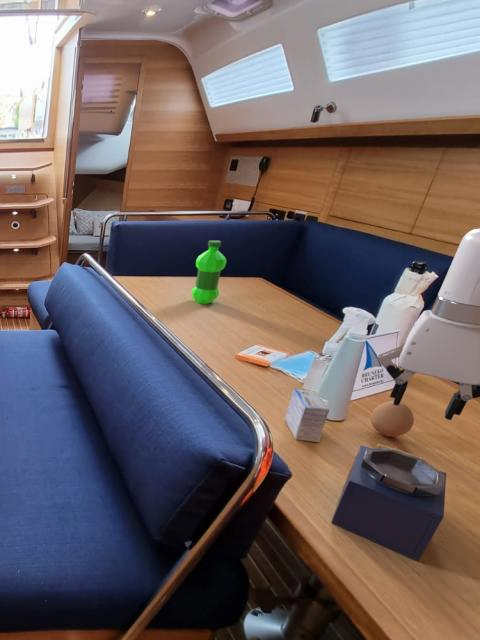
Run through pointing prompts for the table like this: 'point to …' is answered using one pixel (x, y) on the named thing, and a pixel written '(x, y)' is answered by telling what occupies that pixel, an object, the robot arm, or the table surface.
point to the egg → (392, 419)
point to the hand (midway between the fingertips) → (421, 408)
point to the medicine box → (306, 415)
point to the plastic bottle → (208, 274)
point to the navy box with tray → (387, 513)
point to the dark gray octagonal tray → (402, 472)
